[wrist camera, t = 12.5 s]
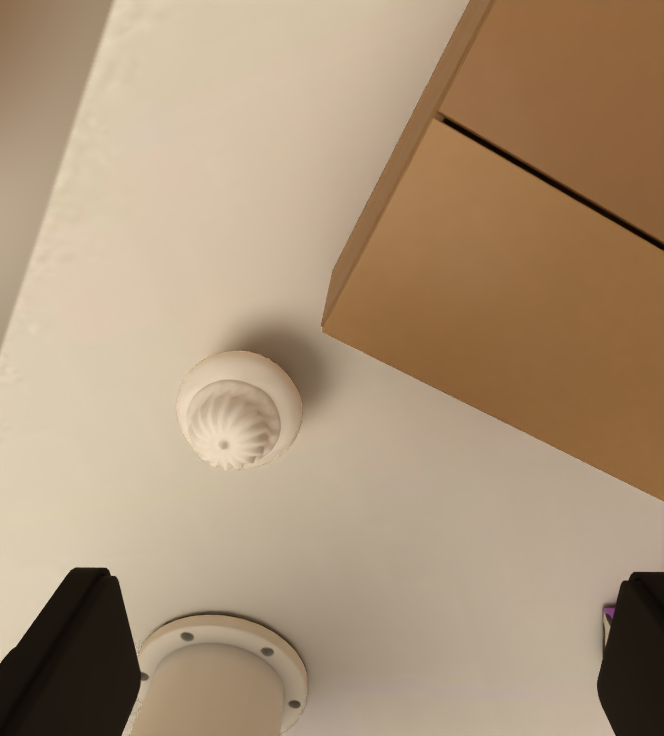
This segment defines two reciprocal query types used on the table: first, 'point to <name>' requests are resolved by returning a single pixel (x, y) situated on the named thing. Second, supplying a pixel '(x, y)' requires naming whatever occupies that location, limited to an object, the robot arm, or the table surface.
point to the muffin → (239, 410)
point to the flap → (516, 306)
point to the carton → (548, 107)
